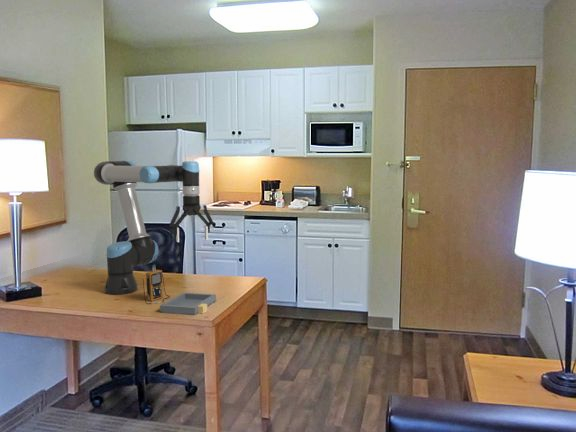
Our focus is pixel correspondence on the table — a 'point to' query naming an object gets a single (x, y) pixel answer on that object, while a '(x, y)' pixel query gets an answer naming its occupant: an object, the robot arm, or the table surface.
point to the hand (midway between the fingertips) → (192, 240)
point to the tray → (188, 303)
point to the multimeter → (154, 284)
